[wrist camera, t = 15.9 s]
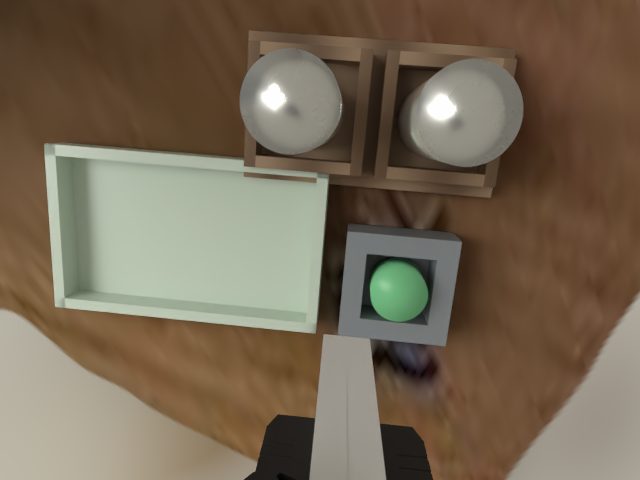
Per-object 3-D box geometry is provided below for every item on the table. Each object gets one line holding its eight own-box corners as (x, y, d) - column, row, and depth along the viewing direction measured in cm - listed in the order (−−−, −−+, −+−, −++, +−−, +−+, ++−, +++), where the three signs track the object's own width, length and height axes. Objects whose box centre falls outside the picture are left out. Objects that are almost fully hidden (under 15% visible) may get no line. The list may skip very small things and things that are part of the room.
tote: (74, 295, 38) (55, 306, 35) (65, 142, 35) (43, 143, 32) (317, 320, 37) (315, 333, 34) (330, 164, 34) (329, 167, 31)
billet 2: (394, 156, 32) (413, 165, 22) (398, 82, 31) (421, 57, 21) (465, 158, 32) (516, 168, 22) (472, 84, 31) (529, 59, 21)
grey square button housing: (339, 318, 37) (337, 335, 34) (348, 223, 35) (347, 231, 32) (438, 328, 36) (445, 346, 33) (452, 232, 34) (462, 241, 31)
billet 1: (272, 144, 32) (238, 150, 23) (275, 71, 31) (241, 44, 22) (341, 149, 32) (336, 158, 23) (347, 76, 31) (345, 51, 21)
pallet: (247, 175, 34) (236, 179, 31) (252, 34, 32) (242, 23, 29) (486, 195, 33) (499, 202, 30) (510, 52, 31) (527, 43, 28)
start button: (366, 303, 35) (367, 318, 32) (371, 253, 34) (373, 265, 31) (418, 308, 35) (424, 324, 32) (425, 258, 34) (431, 270, 31)
